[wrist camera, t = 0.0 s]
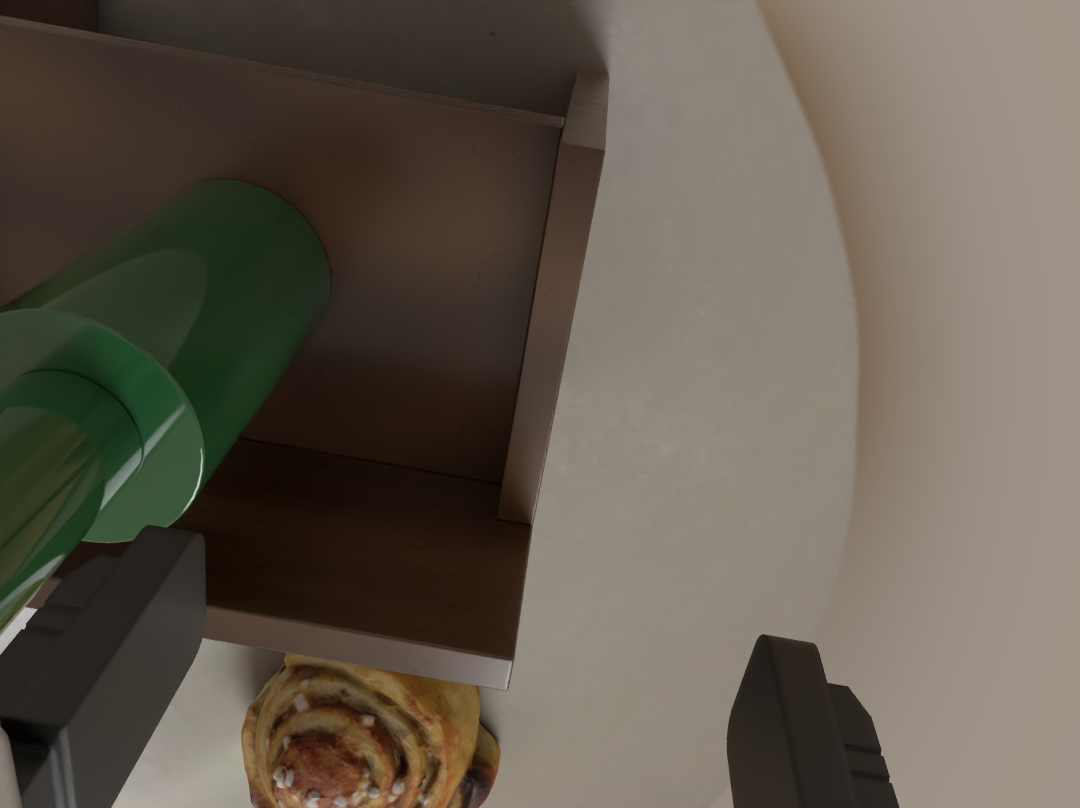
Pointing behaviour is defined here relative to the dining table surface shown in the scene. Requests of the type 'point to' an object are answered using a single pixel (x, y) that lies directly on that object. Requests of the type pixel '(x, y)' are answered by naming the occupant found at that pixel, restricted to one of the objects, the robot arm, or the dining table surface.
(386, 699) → the pastry
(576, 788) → the dining table surface
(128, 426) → the bottle
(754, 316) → the dining table surface
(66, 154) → the shelf
